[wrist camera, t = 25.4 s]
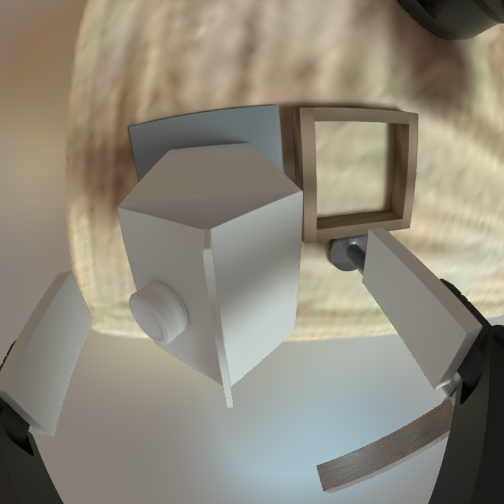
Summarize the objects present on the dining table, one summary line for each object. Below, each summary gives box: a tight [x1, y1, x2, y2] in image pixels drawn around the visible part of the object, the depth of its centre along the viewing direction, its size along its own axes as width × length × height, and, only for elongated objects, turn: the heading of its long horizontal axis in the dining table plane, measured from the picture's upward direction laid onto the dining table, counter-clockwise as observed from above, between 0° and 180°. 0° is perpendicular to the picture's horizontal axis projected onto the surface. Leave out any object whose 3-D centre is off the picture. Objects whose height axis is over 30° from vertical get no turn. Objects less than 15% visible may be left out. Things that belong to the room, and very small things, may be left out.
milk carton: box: [118, 143, 303, 408], centre depth 17 cm, size 7×7×19 cm
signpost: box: [317, 244, 461, 493], centre depth 21 cm, size 12×12×27 cm
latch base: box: [329, 234, 368, 271], centre depth 30 cm, size 5×5×1 cm
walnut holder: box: [292, 107, 418, 243], centre depth 25 cm, size 12×12×2 cm
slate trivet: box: [129, 105, 283, 182], centre depth 25 cm, size 13×13×1 cm
